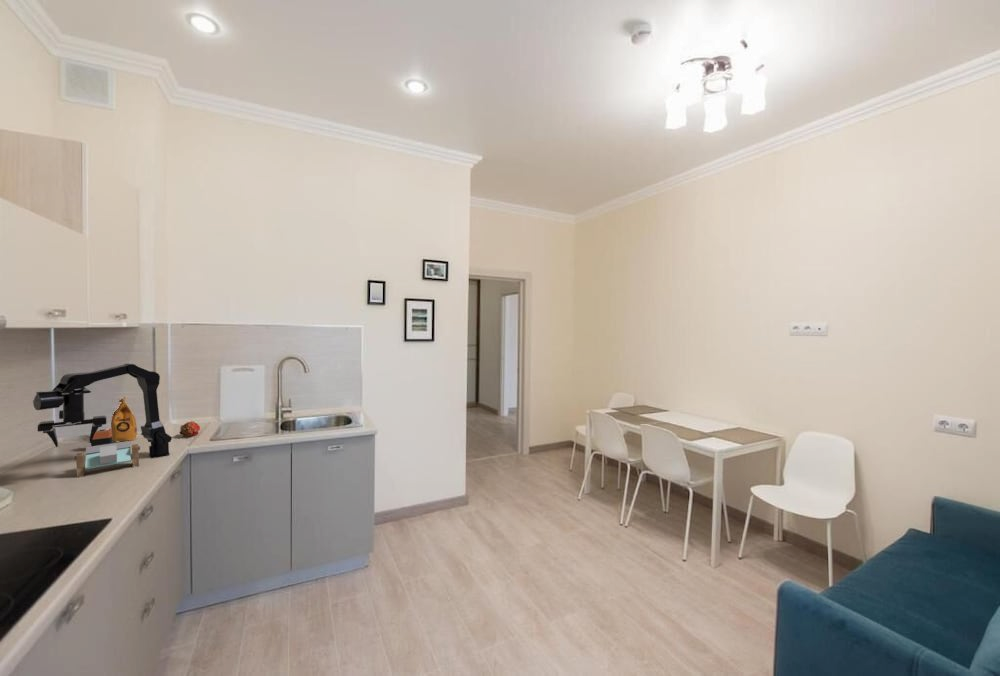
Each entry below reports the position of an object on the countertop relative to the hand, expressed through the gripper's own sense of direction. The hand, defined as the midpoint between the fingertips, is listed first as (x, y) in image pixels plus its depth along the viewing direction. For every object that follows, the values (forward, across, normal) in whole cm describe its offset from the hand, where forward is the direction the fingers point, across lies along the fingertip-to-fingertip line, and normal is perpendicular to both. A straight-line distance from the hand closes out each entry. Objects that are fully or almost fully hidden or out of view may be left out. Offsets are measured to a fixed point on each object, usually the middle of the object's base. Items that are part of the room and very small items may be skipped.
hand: (74, 444), depth 163 cm
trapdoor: (+9, -10, -5) cm, 14 cm away
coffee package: (+13, -16, -54) cm, 58 cm away
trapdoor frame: (+13, -10, -3) cm, 17 cm away
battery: (+13, -7, -40) cm, 43 cm away
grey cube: (+8, -10, -1) cm, 13 cm away
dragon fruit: (+12, -41, -40) cm, 59 cm away
